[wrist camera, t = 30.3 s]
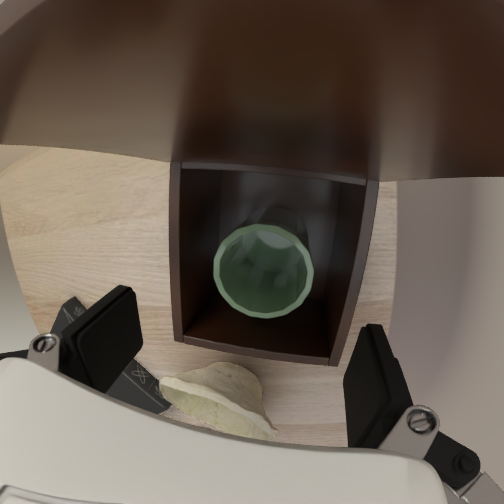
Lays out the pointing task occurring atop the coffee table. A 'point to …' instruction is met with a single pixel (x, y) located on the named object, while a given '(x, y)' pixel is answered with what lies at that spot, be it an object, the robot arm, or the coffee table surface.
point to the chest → (228, 218)
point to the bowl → (221, 399)
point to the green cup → (265, 263)
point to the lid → (262, 83)
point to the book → (131, 379)
